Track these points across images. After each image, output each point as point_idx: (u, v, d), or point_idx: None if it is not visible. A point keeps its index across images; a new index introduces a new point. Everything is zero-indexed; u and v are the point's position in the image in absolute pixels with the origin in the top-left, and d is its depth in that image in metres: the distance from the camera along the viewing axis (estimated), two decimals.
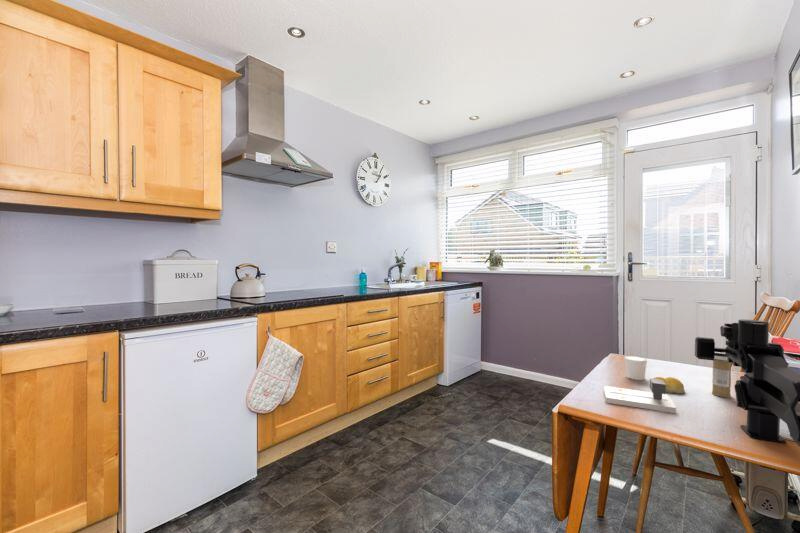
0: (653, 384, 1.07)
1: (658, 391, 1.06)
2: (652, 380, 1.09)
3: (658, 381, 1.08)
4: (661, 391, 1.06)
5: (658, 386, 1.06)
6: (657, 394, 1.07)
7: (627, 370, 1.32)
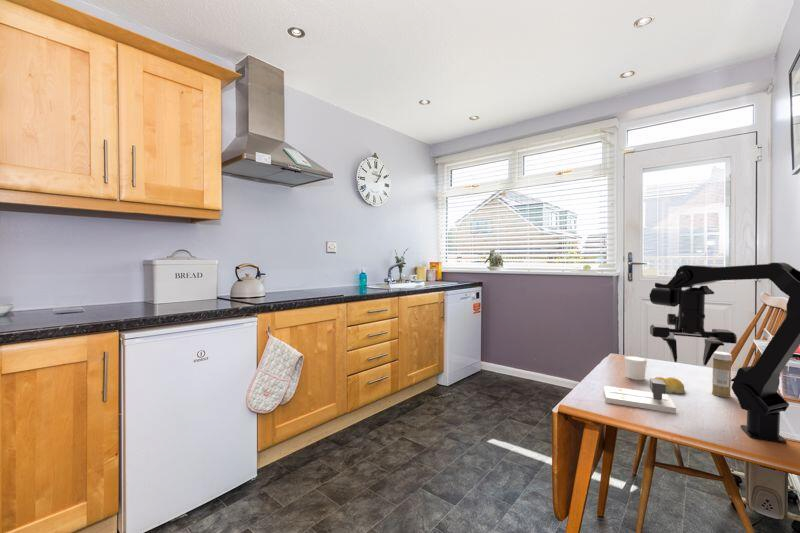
0: (653, 384, 1.07)
1: (658, 391, 1.06)
2: (652, 380, 1.09)
3: (658, 381, 1.08)
4: (661, 391, 1.06)
5: (658, 386, 1.06)
6: (657, 394, 1.07)
7: (627, 370, 1.32)
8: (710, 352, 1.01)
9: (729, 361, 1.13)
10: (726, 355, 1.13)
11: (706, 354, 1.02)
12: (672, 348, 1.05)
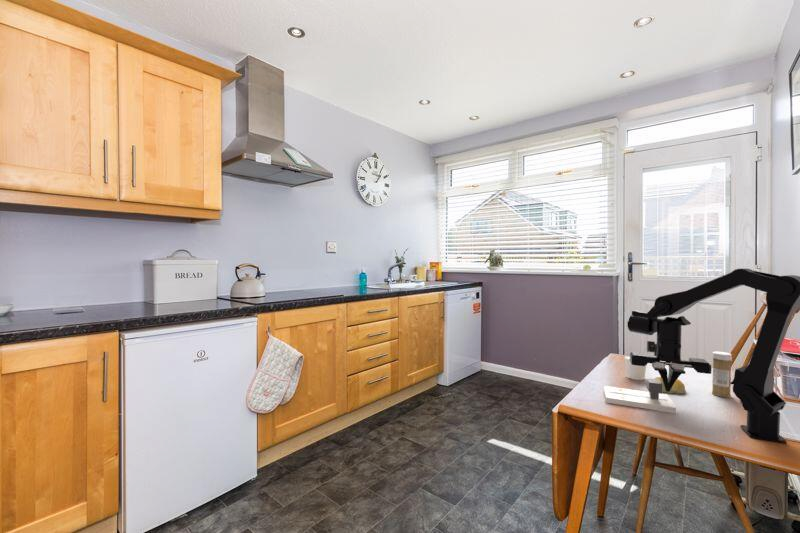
0: (650, 384, 1.07)
1: (655, 391, 1.07)
2: (649, 380, 1.09)
3: (655, 381, 1.08)
4: (658, 391, 1.06)
5: (655, 385, 1.07)
6: (654, 394, 1.08)
7: (627, 370, 1.32)
8: (672, 379, 1.05)
9: (729, 361, 1.13)
10: (726, 355, 1.13)
11: (669, 381, 1.06)
12: (663, 378, 1.06)
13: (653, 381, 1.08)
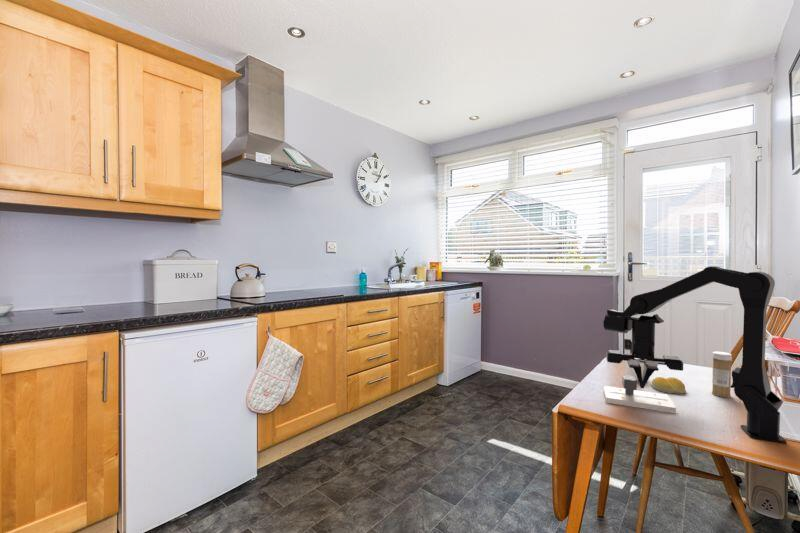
0: (625, 380, 1.10)
1: (629, 387, 1.09)
2: (624, 377, 1.12)
3: (630, 377, 1.11)
4: (632, 387, 1.09)
5: (630, 382, 1.09)
6: (629, 390, 1.10)
7: (627, 370, 1.32)
8: (646, 376, 1.08)
9: (729, 361, 1.13)
10: (726, 355, 1.13)
11: (643, 378, 1.09)
12: (637, 375, 1.09)
13: (628, 378, 1.11)
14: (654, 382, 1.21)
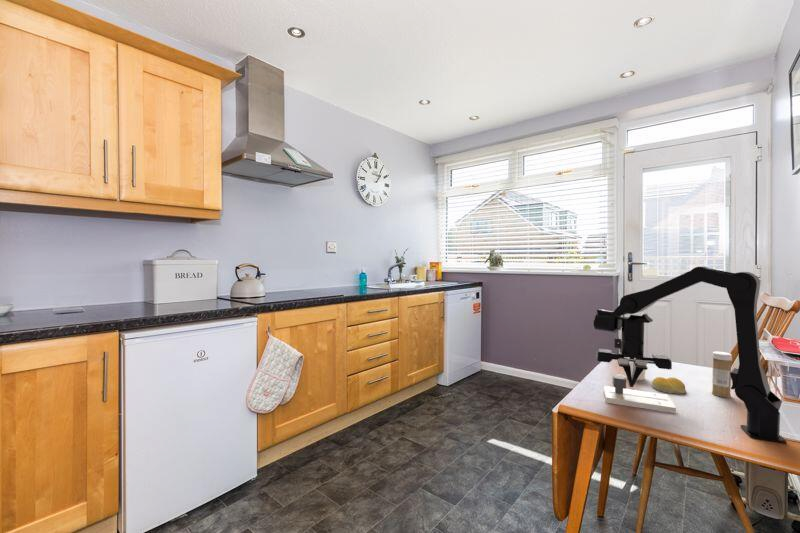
0: (614, 379, 1.11)
1: (619, 386, 1.11)
2: (614, 376, 1.13)
3: (620, 376, 1.12)
4: (622, 386, 1.10)
5: (619, 381, 1.11)
6: (618, 389, 1.12)
7: None
8: (636, 375, 1.09)
9: (729, 361, 1.13)
10: (726, 355, 1.13)
11: (633, 377, 1.10)
12: (627, 374, 1.10)
13: (618, 377, 1.12)
14: (654, 382, 1.21)
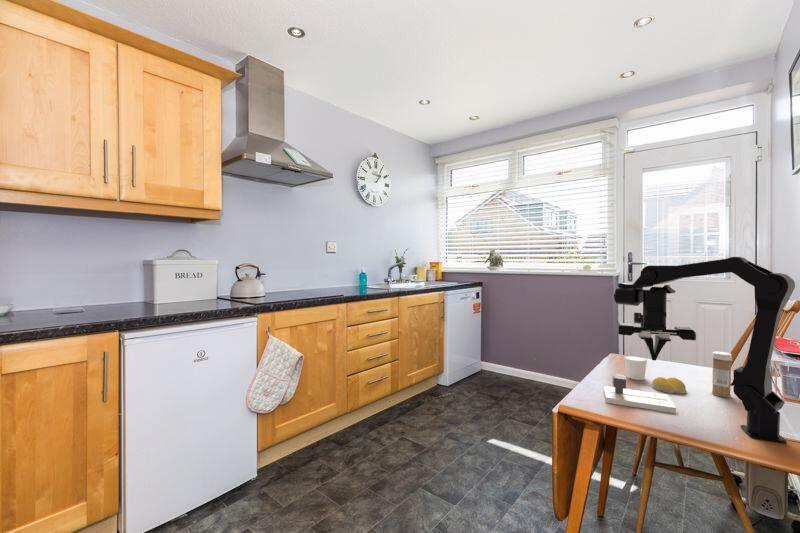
0: (614, 379, 1.11)
1: (619, 386, 1.11)
2: (614, 376, 1.13)
3: (620, 376, 1.12)
4: (622, 386, 1.10)
5: (619, 381, 1.11)
6: (618, 389, 1.12)
7: (627, 370, 1.32)
8: (658, 348, 1.07)
9: (729, 361, 1.13)
10: (726, 355, 1.13)
11: (655, 350, 1.08)
12: (649, 346, 1.08)
13: (618, 377, 1.12)
14: (655, 382, 1.21)
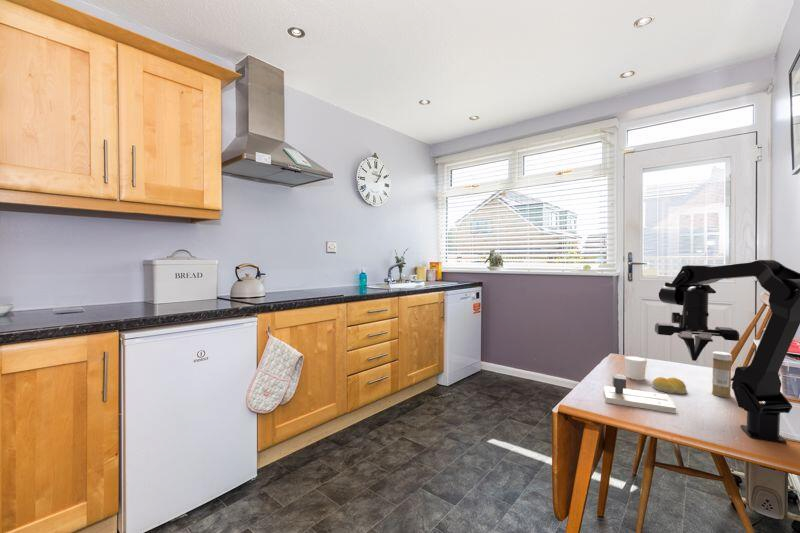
0: (614, 379, 1.11)
1: (619, 386, 1.11)
2: (614, 376, 1.13)
3: (620, 376, 1.12)
4: (622, 386, 1.10)
5: (619, 381, 1.11)
6: (618, 389, 1.12)
7: (627, 370, 1.32)
8: (700, 348, 1.06)
9: (729, 361, 1.13)
10: (726, 355, 1.13)
11: (696, 350, 1.07)
12: (690, 347, 1.07)
13: (618, 377, 1.12)
14: (655, 382, 1.21)
